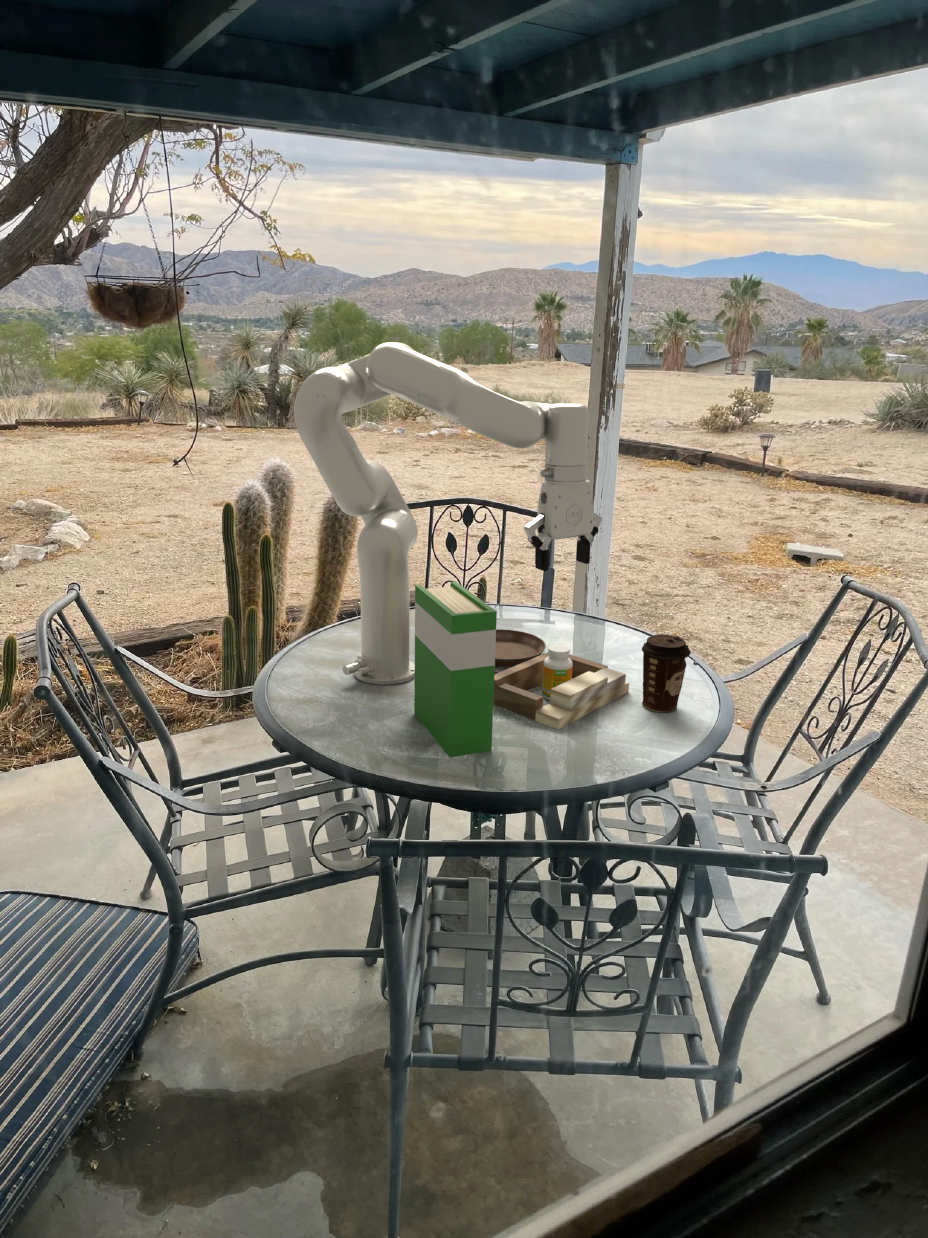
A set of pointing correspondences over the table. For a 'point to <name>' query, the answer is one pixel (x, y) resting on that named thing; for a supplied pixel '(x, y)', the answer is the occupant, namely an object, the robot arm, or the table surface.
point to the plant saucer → (516, 647)
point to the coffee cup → (663, 671)
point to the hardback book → (455, 668)
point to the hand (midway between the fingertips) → (562, 565)
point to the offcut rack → (558, 691)
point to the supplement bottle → (556, 668)
